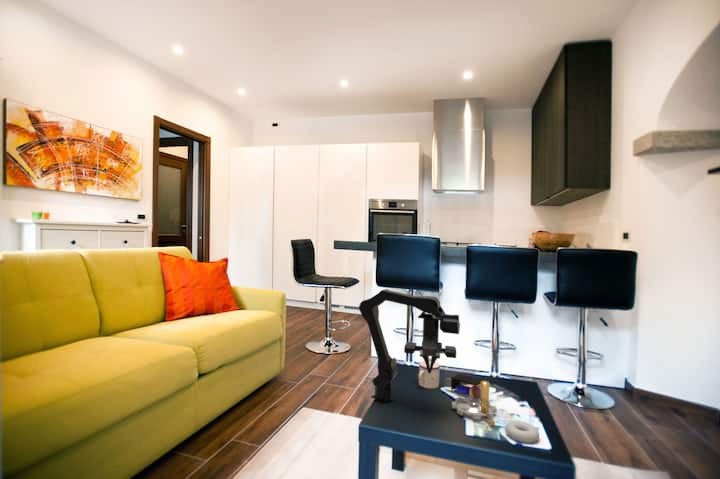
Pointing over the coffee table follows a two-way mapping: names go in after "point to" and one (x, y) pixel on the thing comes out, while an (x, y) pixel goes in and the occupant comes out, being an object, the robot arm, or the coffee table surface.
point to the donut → (522, 431)
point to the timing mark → (490, 421)
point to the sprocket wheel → (476, 404)
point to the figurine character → (456, 384)
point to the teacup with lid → (429, 375)
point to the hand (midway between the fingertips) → (429, 372)
